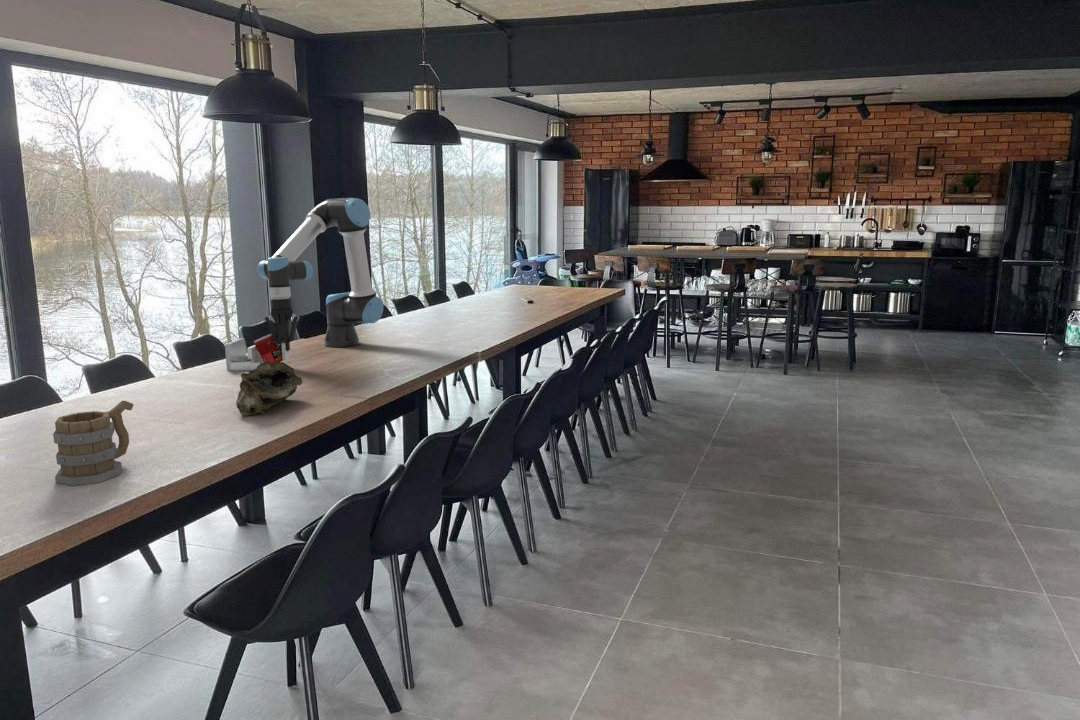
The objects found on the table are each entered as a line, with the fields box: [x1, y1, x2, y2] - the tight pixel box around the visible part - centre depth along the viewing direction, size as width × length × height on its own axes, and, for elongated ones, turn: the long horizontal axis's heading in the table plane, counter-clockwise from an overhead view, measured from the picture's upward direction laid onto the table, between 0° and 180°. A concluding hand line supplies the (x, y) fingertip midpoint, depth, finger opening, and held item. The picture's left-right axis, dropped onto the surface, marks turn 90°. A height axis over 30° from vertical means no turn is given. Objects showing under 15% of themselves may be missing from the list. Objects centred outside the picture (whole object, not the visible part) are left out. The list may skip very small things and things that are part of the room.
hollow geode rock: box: [235, 361, 303, 417], centre depth 236 cm, size 28×13×15 cm
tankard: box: [52, 400, 134, 487], centre depth 178 cm, size 20×13×15 cm, turn 158°
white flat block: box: [246, 344, 264, 363], centre depth 295 cm, size 13×2×8 cm, turn 177°
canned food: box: [253, 333, 284, 363], centre depth 295 cm, size 8×8×11 cm
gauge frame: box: [224, 337, 262, 371], centre depth 296 cm, size 14×13×10 cm
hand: (285, 359), depth 295 cm, fingers closed
